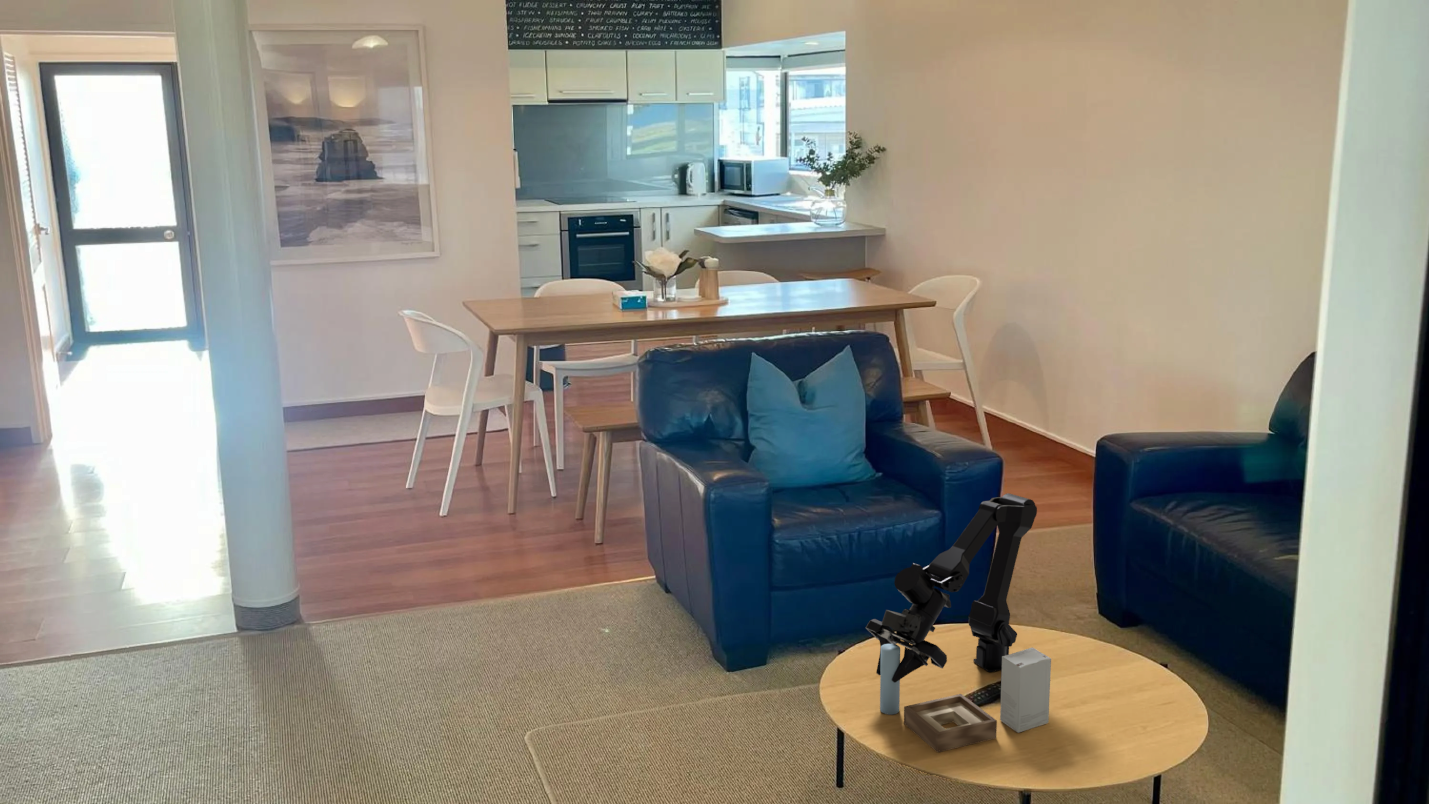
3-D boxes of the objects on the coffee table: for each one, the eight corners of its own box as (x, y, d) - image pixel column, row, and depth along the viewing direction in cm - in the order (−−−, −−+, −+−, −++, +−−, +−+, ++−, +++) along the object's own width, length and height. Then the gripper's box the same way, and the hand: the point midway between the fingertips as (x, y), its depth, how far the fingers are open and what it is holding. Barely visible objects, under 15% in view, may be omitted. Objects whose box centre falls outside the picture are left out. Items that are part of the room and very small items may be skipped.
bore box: (960, 710, 245) (960, 693, 244) (996, 738, 234) (996, 720, 233) (903, 723, 240) (904, 706, 239) (937, 752, 229) (938, 734, 228)
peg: (893, 703, 248) (893, 642, 245) (903, 712, 245) (903, 649, 242) (876, 707, 247) (877, 645, 244) (886, 715, 243) (886, 653, 240)
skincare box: (1030, 712, 244) (1033, 645, 241) (1050, 724, 239) (1053, 656, 235) (997, 721, 240) (1000, 654, 237) (1017, 734, 235) (1020, 665, 232)
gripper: (872, 582, 250) (834, 645, 246) (938, 609, 236) (899, 676, 232) (897, 607, 256) (860, 669, 252) (963, 635, 242) (926, 700, 238)
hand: (885, 677), depth 243 cm, fingers closed on peg, 4 cm apart
